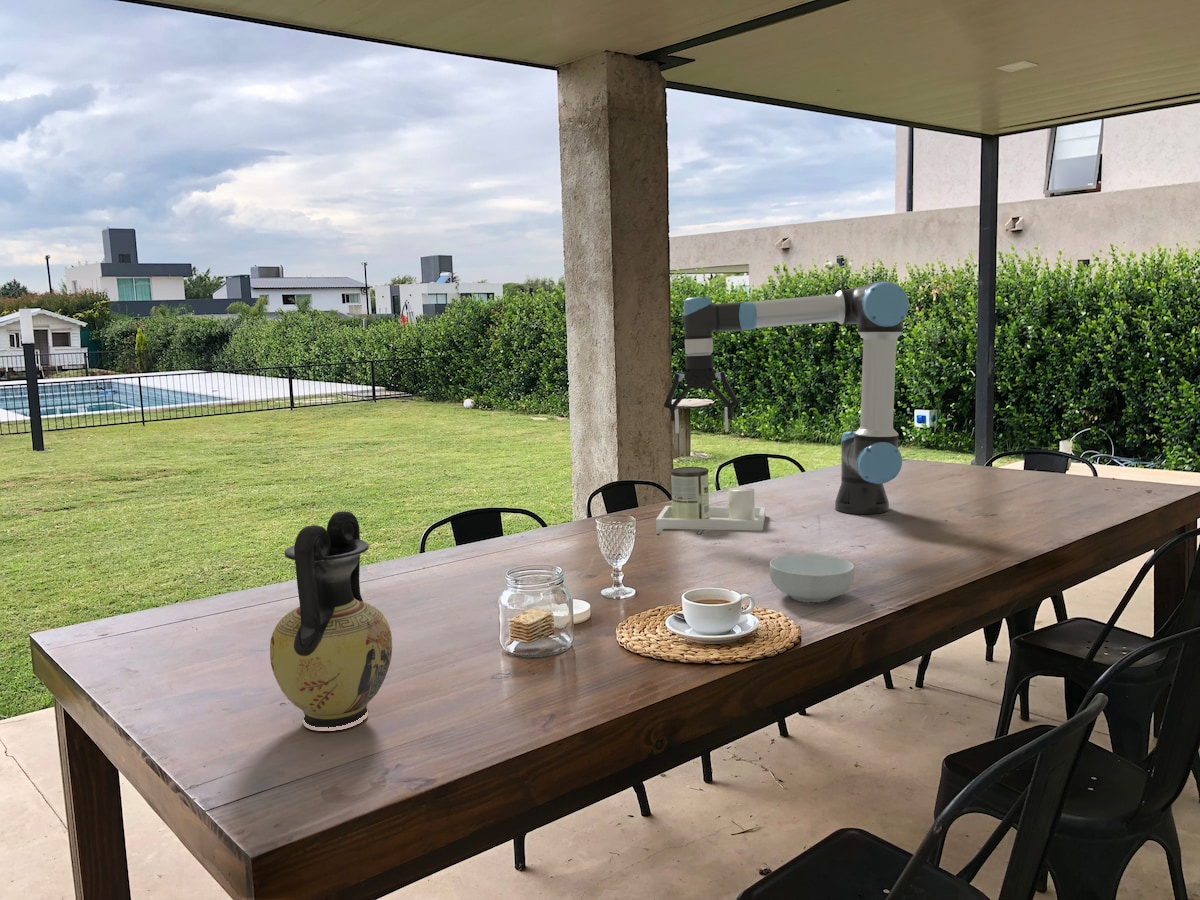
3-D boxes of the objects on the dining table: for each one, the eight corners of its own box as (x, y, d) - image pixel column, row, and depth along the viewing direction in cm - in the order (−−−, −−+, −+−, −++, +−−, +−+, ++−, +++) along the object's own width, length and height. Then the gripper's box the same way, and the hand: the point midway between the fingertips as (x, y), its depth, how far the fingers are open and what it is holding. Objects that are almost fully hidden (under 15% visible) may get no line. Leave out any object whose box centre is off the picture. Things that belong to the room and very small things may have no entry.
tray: (765, 521, 258) (765, 507, 258) (762, 535, 241) (762, 520, 240) (665, 519, 264) (665, 505, 264) (656, 533, 247) (655, 519, 246)
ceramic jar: (755, 519, 253) (755, 487, 252) (754, 525, 247) (753, 492, 245) (729, 519, 255) (729, 487, 254) (727, 525, 248) (727, 492, 247)
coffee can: (672, 516, 259) (671, 466, 257) (709, 516, 258) (708, 466, 256) (671, 524, 249) (670, 472, 247) (709, 524, 248) (709, 472, 246)
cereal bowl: (839, 614, 176) (839, 578, 175) (756, 603, 184) (756, 568, 183) (864, 591, 190) (865, 557, 189) (787, 581, 199) (787, 549, 198)
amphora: (377, 746, 126) (363, 530, 122) (255, 747, 127) (237, 533, 123) (409, 694, 143) (397, 504, 139) (302, 696, 144) (287, 507, 140)
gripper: (746, 352, 253) (748, 429, 256) (655, 356, 258) (658, 431, 261) (745, 353, 246) (747, 432, 248) (651, 357, 250) (655, 435, 253)
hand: (702, 432), depth 254 cm, fingers open, 13 cm apart
